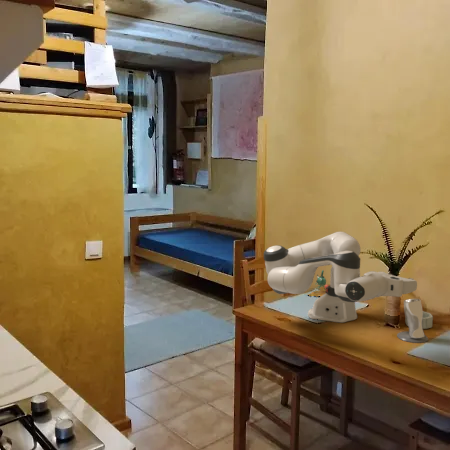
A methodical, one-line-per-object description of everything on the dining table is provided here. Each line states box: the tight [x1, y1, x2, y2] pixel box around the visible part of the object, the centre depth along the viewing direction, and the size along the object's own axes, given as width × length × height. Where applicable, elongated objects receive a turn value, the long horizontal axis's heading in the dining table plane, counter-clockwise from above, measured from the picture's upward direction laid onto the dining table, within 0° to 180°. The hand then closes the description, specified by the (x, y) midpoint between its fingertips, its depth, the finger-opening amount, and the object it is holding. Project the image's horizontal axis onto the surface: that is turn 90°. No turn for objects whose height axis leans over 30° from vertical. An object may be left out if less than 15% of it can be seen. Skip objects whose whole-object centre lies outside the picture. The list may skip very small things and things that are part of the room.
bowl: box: [404, 310, 434, 330], centre depth 221 cm, size 11×11×5 cm
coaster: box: [396, 330, 429, 344], centre depth 207 cm, size 12×12×1 cm
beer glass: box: [403, 298, 426, 338], centre depth 205 cm, size 7×7×15 cm
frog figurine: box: [307, 269, 327, 298], centre depth 267 cm, size 10×18×15 cm, turn 96°
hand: (400, 277), depth 196 cm, fingers open, 8 cm apart
